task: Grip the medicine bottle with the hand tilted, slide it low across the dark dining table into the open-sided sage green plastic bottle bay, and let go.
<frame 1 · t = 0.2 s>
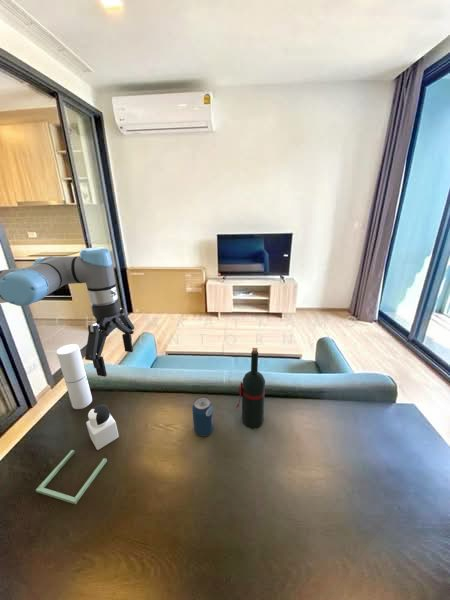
hand: (116, 362, 81), 27 cm above the table, tool pointing down, fingers open, 13 cm apart
soda can: (203, 429, 88), on the table
cylindrical container: (82, 402, 101), on the table
medicine bottle: (104, 437, 85), on the table
wine bottle: (249, 420, 92), on the table
bottle bay: (74, 474, 73), on the table
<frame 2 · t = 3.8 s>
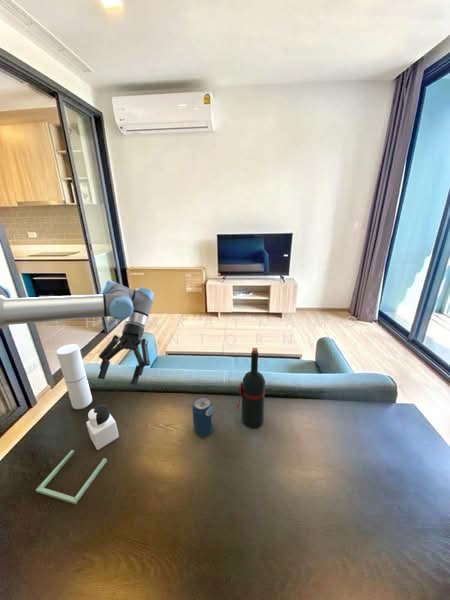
hand: (117, 381, 89), 15 cm above the table, tool tilted 45°, fingers open, 13 cm apart
nothing on the table moved.
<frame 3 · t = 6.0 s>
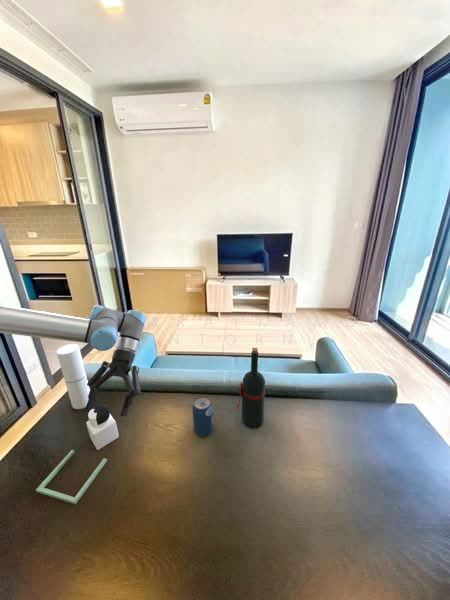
hand: (105, 412, 85), 8 cm above the table, tool tilted 45°, fingers open, 13 cm apart
nothing on the table moved.
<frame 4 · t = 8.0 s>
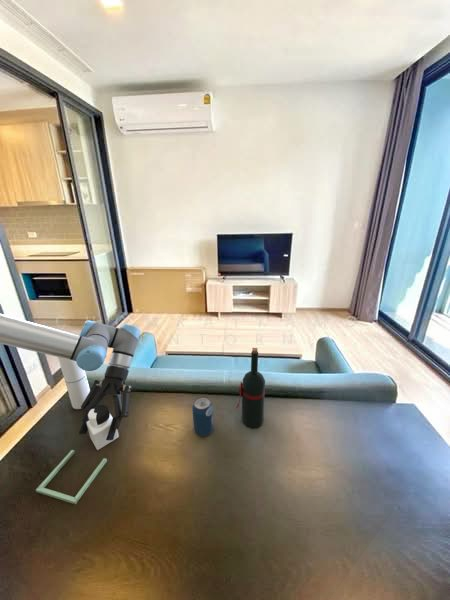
hand: (96, 436, 81), 4 cm above the table, tool tilted 45°, fingers closed on medicine bottle, 9 cm apart
medicine bottle: (104, 437, 85), on the table, touching gripper
everything else where it was.
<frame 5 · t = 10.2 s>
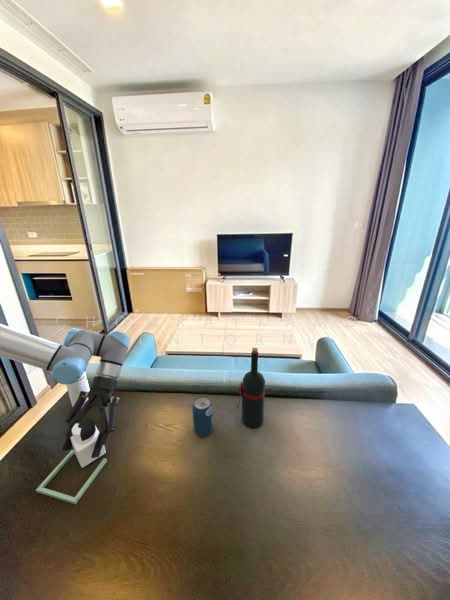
hand: (80, 453, 75), 4 cm above the table, tool tilted 45°, fingers closed on medicine bottle, 9 cm apart
medicine bottle: (90, 453, 79), on the table, touching gripper
everything else where it was.
when the fingers open (4 cm above the table, at t = 12.8 s): medicine bottle stays where it is, on the table.
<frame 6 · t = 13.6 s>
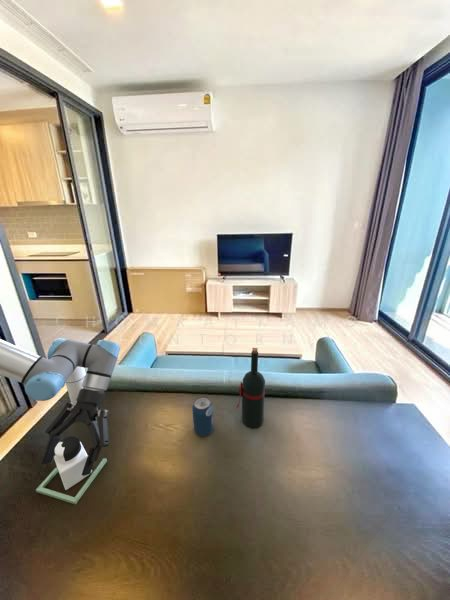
hand: (65, 468, 70), 5 cm above the table, tool tilted 45°, fingers open, 13 cm apart
medicine bottle: (76, 473, 74), on the table
everything else where it was.
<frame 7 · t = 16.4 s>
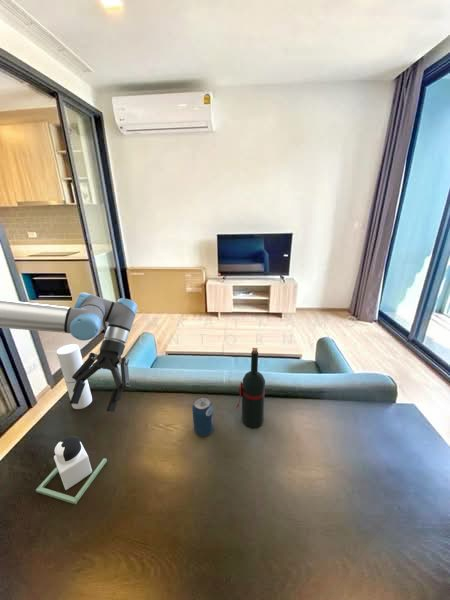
hand: (91, 407, 78), 15 cm above the table, tool tilted 45°, fingers open, 13 cm apart
nothing on the table moved.
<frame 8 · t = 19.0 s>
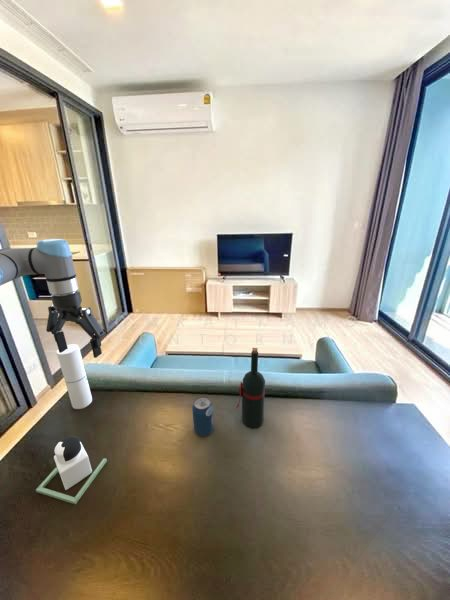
hand: (80, 353, 82), 29 cm above the table, tool pointing down, fingers open, 13 cm apart
nothing on the table moved.
at the end: medicine bottle inside the target area (0.5 cm from its centre), on the table; medicine bottle tilted 0°; medicine bottle moved 12.5 cm from its start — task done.
